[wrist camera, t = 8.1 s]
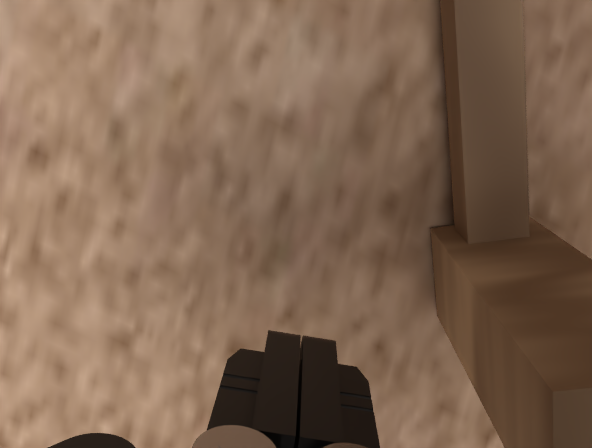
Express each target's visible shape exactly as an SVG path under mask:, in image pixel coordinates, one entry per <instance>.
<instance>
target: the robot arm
mask: <svg viewBox="0 0 592 448" xmlns="http://www.w3.org/2000/svg"><path fill="white" fill-rule="evenodd" d="M300 338H301V336H300V335H295V334H289V333H283V332H276V331H270V330H268V335H267V341H266V347H265V352H259V351H253V350H247V349H240V350H238V351H237V352H236V353H235V354H233V355H232V356H231V357H230V358H229V359H228V360H227V363H226V367H225V370H224V373H223V377H222V380H221V384H220V388H219V390H218V394H217V397H216V401H215V404H214V407H213V411H212V414H211V418H210V421H209V424H208V428H207V431H205V432H204V433H202V434H201V435H200V436H199V437H198V438H197V439H196V441H195V442H194V444H193V446H192V448H380V445H379V439H378V434H377V428H376V422H375V416H374V412H373V405H372V400H371V394H370V388H369V382H368V380H367V379H366V378H365V377H364V375H363V374H362V373H361V372H360V370H359V369H358V368H357V367H354V366H348V365H342V364H338V362H337V350H336V341H334V340H327V339H321V338H315V337H308V336H303V337H302V342H301V347H300ZM48 448H135V446H134V445H133V444H132V443H130V442H129V441H127V440H126V439H124V438H122V437H119V436H116V435H111V434H105V433H90V434H83V435H79V436H75V437H72V438H69V439H67V440H64V441H62V442H60V443H57V444H55V445H53V446H51V447H48Z"/></svg>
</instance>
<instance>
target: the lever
mask: <svg viewBox="0 0 592 448" xmlns="http://www.w3.org/2000/svg"><path fill="white" fill-rule="evenodd" d="M440 5H441V21H442V37H443V52H444V68H445V84H446V99H447V115H448V131H449V147H450V162H451V178H452V194H453V209H454V225H451V226H443V227H435V228H431V241H432V254H433V267H434V280H435V293H436V306H437V316H438V318H439V320H440V322H441V324H442V326H443V328H444V330H445V332H446V334H447V336H448V338H449V340H450V342H451V344H452V345H453V347H454V349H455V351H456V353H457V355H458V357H459V359H460V361H461V363H462V365H463V367H464V369H465V371H466V373H467V375H468V377H469V379H470V381H471V383H472V385H473V386H474V388H475V390H476V392H477V394H478V396H479V398H480V400H481V402H482V404H483V406H484V408H485V410H486V412H487V414H488V416H489V418H490V420H491V422H492V424H493V426H494V428H495V429H496V431H497V433H498V435H499V437H500V439H501V441H502V443H503V445H504V447H505V448H592V260H591V259H590V258H588V257H587V256H585V255H584V254H583V253H581V252H580V251H578V250H577V249H575V248H574V247H572V246H571V245H570V244H568V243H567V242H565V241H564V240H562V239H561V238H559V237H558V236H556V235H555V234H554V233H552V232H551V231H549V230H548V229H546V228H545V227H543V226H542V225H541V224H539V223H538V222H536V221H535V220H533V219H532V218H530V217H529V196H528V158H527V119H526V81H525V43H524V5H523V0H440Z"/></svg>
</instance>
